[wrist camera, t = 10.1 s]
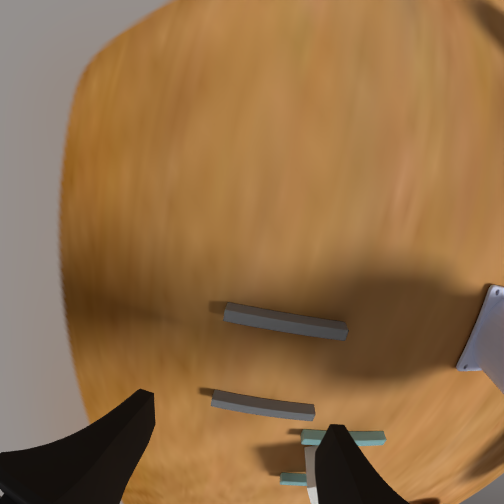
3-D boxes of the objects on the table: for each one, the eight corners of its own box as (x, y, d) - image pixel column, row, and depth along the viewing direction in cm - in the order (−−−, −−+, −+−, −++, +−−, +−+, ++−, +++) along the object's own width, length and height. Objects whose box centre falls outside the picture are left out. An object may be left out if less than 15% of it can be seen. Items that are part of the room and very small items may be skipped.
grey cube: (351, 437, 21) (361, 477, 17) (351, 463, 23) (359, 499, 18) (304, 447, 22) (307, 488, 17) (309, 471, 23) (312, 508, 18)
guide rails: (435, 332, 18) (442, 339, 17) (349, 477, 23) (350, 485, 22) (227, 302, 19) (224, 309, 18) (204, 464, 24) (202, 472, 22)
